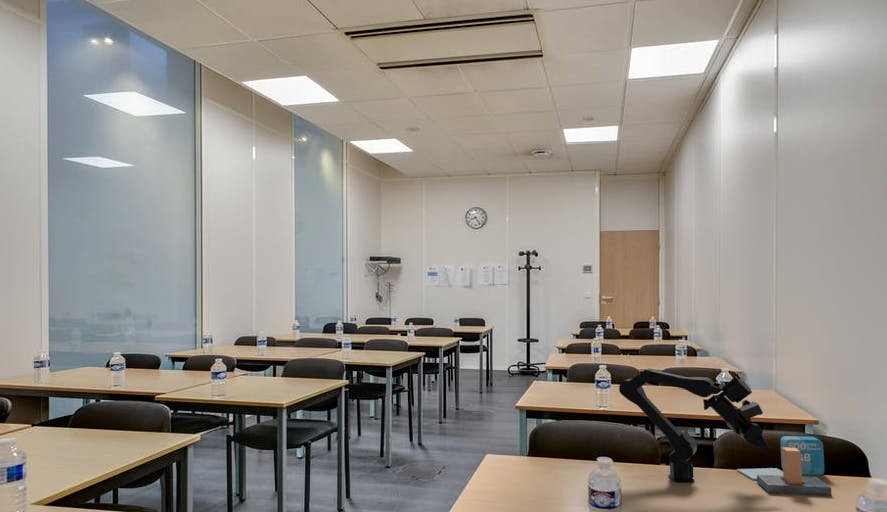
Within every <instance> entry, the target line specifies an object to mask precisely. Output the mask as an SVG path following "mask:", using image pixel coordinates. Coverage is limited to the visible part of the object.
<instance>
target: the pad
mask: <svg viewBox="0 0 887 512" xmlns="http://www.w3.org/2000/svg"><path fill="white" fill-rule="evenodd" d="M736 471H737V472H738V473H740V474H742V475H743V476H745V477H747V478H748V479H749V480H752V481H757V475H776V476H783V470H781V469H779V468H777V467H775V468H773V467H767V468H763V467H762V468H737V469H736Z"/></svg>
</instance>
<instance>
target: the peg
mask: <svg viewBox="0 0 887 512" xmlns="http://www.w3.org/2000/svg"><path fill="white" fill-rule="evenodd" d="M782 460H783V468H782V471H783V479H784V482H786V483H789V484H802V476H803V475H802V470H801V452H800V451H799V450H798V449H796V448H785V447H782Z"/></svg>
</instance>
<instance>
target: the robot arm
mask: <svg viewBox="0 0 887 512" xmlns="http://www.w3.org/2000/svg"><path fill="white" fill-rule="evenodd" d="M648 382H652V383H657V384H661V385H666V386H669V387H674V388H679V389H682V390H685V391H686V392H687V391H688V392H689V393H691V394H693V395H695V396H698V397H701V398H704V399H702V401H703V402H702V403H703V410H704V411H707V410H708V409H710V408H711V409H712V410H713V411H714V412H715V413H716V414H717V415H719V417H720V418H721V419H722V420H723V421H724V422H725V423H726V425H727V427H729V429H731V430H732V431H733V432H735V433H736V434H737V435H739V436H740V437H741V439H743V440H744V441H745V442H746V443H747V444H749V445H752V446H753V447H756V448H759V449H760V450H761V449H762V450H763V451H766V452H770V451H771V448H770V447H769V445H768V443H767V442H766V440H765V439H764V437H763V433H764V429H763V428H762V427H761V426H760V425H759V424H757V423H755V422H752V419H751V418H754V417H757V416H761V415H763V413H764V412H763V410H762V408H761V406H760V404H759V403H757V401H751V402H750V401H749V400H748V399H746V398H747V397H749V396H750V395H751V394H752V393H753V391H752V390H751V388H750V387H749V386H748V384H747V383H746V382H744V381H743V380H742V379H740V378H738V376H737V375H735V376H734V377H732V378H731V379H730V380H729V381H728V382H727V383H725V384H722V383H719V382H715V381H713V379H712V378H709V377H705V376H703V377H702V376H683V375H678V374H673V373H669V372H665V371H660V370H655V369H652V368H647V369H644V370H643V371H642V372H641V373H639V374H637V375H636V376H635V377H633V378H628V379H625V380H623V381H621V382H620V383H619V386H618V390H619V393H620V395H621V396H623V397H624V398H625V399H627V400H628V401H629V402H631V403H632V404H634V405H636V406H637V407H638V408H639V409H641V411H642V412H643V414H645V415H646V416H647V418H648V419H649V420H650V421H651V422H652V423H653V424H654V425H655V426H656V427H657V428H658V429H659V431H660V432H661V433H662V434H663V435H664V436H665V437H666V439H667V440H668V442H669V444H670V446H671V449H672V450H673V451H672V452H671V453H670V454H669V455H668V456H667V457H668V460H669V474H667V476H668V477H669V478H670V479H671V480H672V481H674V482H675V483H689V482H690V483H692V482H693V483H694V482H695V479H694V466H693V464H692V461H691V460H690V459H691V458H693V456H694V455H695V453H697V449H698V445H697V443H696V442H695V440H696V439H695V438H694V437H693V436H691V435H690V433H689V432H688V430H684V431H681V430H679V429H678V428H676V427H675V425H673V423H672V422H671V421H670V420H669V419H668V417H666V416H665V415H664V413H663V412H662V411H661V410H659V408H658V407H657V406H656V405H655V404H654V403H653V402H652V400H651V399H649V397H648V396H647V394H646V392H645V389H644V388H643V386H644V385H646V384H647V383H648ZM710 396H711V397H710ZM708 397H709V398H708ZM705 398H706V399H705ZM707 398H708V399H707ZM740 402H741V406H740V407H738V406H736V405H735V404H733V403H736V404H739V403H740Z"/></svg>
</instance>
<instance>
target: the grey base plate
mask: <svg viewBox="0 0 887 512" xmlns="http://www.w3.org/2000/svg"><path fill="white" fill-rule="evenodd" d="M756 482H757V484H758V485H759V486H760V487H762V489H763V490H765V491H766V493H767V494H780V495H781V494H783V495H804V496H805V495H807V496H826V497H827V496H828V497H829V496H830V497H831V496H832V488H831V486H830V485H828V484H827V483H826V482H824V481H823V480H821V479H820V478H819V477H817V476H804V475H802V484H789V483H786V482H784V479H783V476H776V475H757V480H756Z"/></svg>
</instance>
